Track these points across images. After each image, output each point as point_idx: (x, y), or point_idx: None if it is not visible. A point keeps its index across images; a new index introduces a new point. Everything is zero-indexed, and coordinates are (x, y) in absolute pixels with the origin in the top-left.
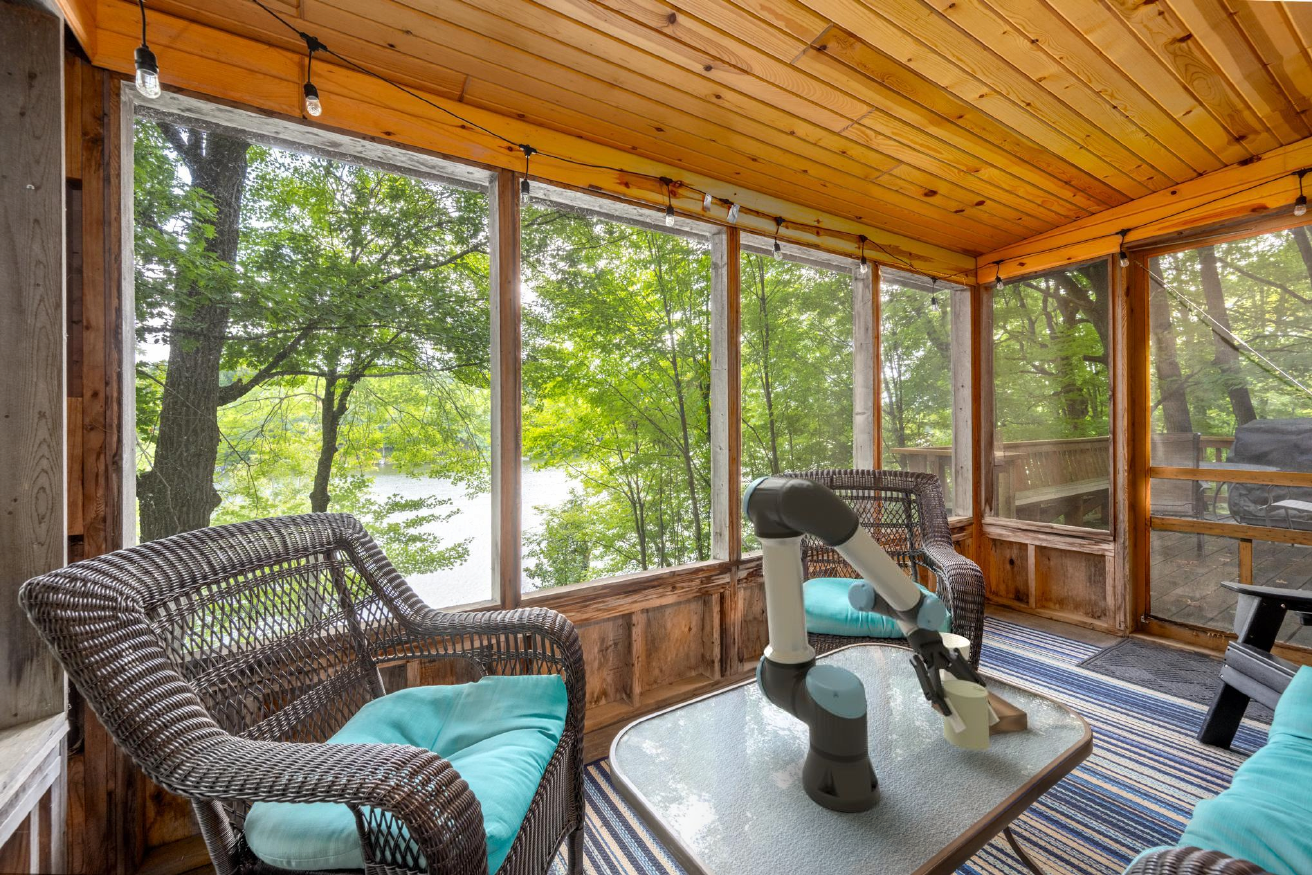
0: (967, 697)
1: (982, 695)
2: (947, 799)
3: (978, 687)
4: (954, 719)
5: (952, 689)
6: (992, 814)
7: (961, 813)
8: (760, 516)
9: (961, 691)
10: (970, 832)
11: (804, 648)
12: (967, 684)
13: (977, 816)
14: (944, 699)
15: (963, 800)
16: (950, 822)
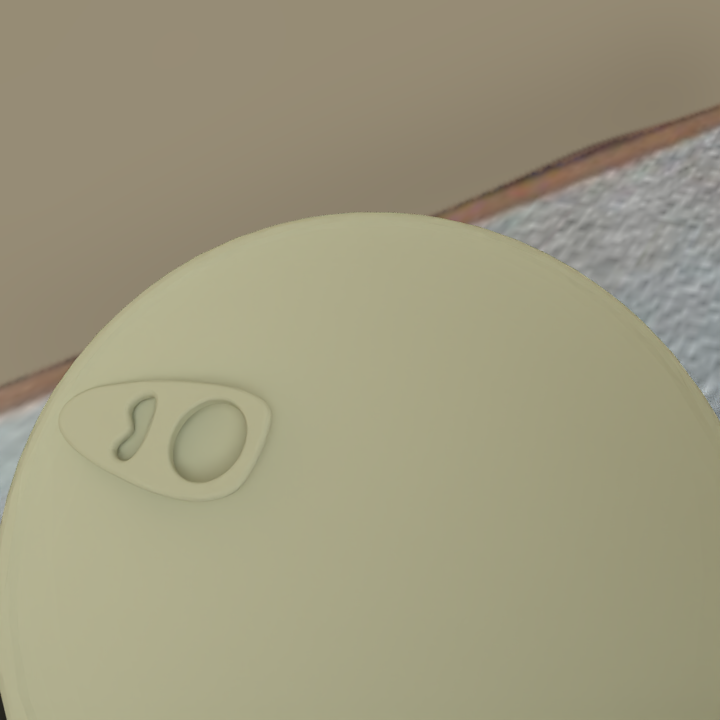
0: (529, 249)
1: (279, 254)
2: (666, 288)
3: (150, 452)
4: None
5: (634, 509)
6: (524, 188)
7: (645, 212)
8: None
9: (514, 422)
10: (658, 135)
11: None
12: (209, 688)
13: (590, 189)
14: None
15: (597, 271)
16: (710, 182)
